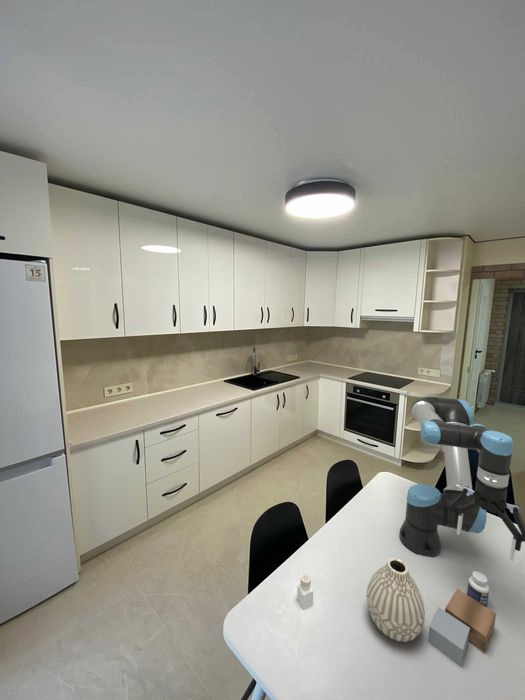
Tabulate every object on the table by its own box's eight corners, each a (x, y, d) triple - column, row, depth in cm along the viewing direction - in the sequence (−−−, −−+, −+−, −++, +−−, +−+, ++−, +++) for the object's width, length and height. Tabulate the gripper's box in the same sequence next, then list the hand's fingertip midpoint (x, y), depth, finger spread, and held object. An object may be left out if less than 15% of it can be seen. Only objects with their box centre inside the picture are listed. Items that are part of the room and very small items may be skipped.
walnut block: (443, 625, 88) (445, 607, 87) (455, 604, 94) (457, 588, 93) (483, 655, 80) (485, 636, 79) (493, 631, 86) (496, 613, 86)
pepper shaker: (296, 600, 94) (297, 575, 93) (306, 596, 96) (307, 570, 95) (302, 612, 91) (303, 585, 89) (313, 607, 92) (314, 581, 91)
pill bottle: (481, 614, 91) (484, 586, 90) (463, 599, 96) (466, 573, 94) (490, 606, 93) (493, 579, 92) (472, 592, 98) (475, 566, 97)
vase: (358, 597, 96) (362, 542, 93) (407, 599, 95) (412, 544, 93) (375, 653, 80) (380, 589, 77) (434, 656, 80) (440, 592, 77)
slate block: (427, 644, 83) (429, 626, 82) (436, 624, 88) (438, 606, 87) (460, 669, 77) (462, 650, 76) (467, 646, 82) (469, 627, 82)
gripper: (442, 470, 96) (436, 528, 98) (547, 507, 78) (536, 577, 80) (448, 462, 101) (443, 518, 103) (548, 495, 83) (538, 562, 85)
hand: (484, 544), depth 92 cm, fingers open, 13 cm apart
